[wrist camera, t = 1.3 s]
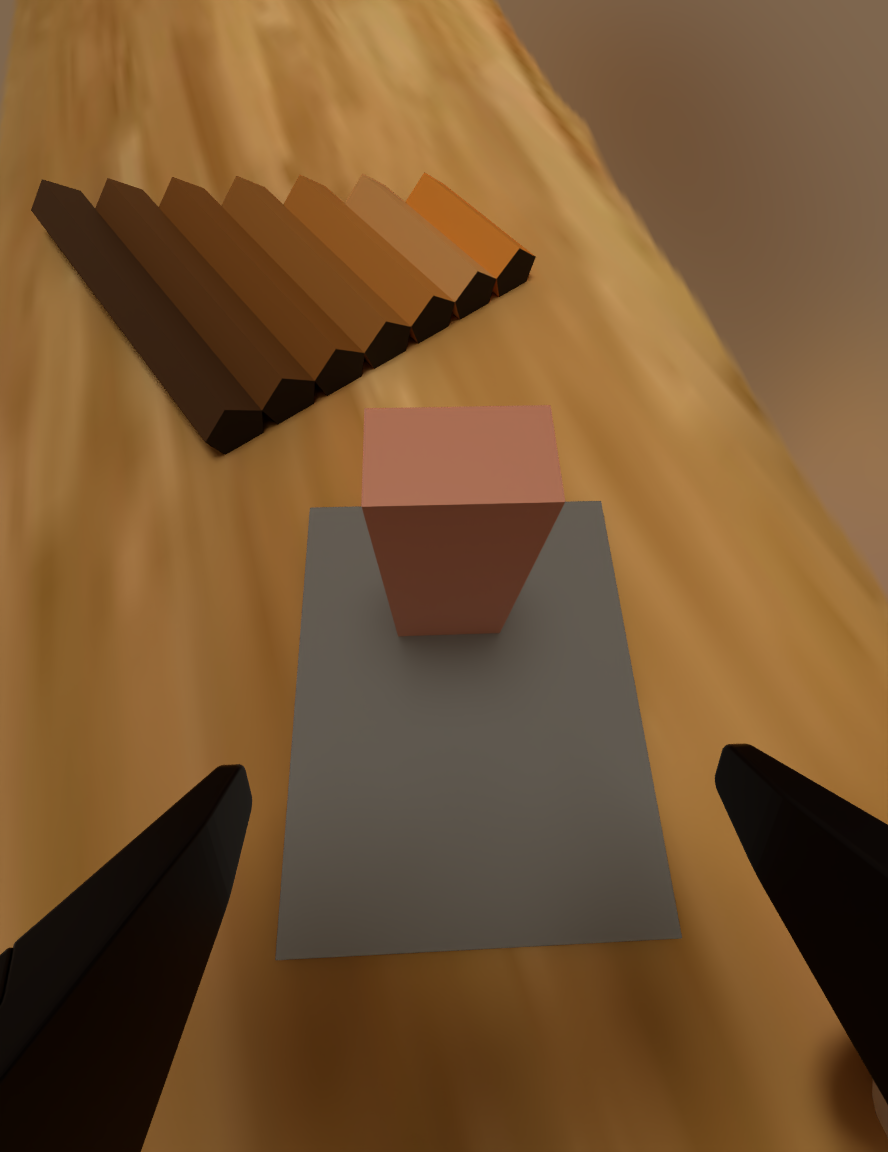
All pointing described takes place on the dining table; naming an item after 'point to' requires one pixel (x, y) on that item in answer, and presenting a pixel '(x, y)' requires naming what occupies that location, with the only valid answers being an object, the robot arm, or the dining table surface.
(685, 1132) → the dining table surface
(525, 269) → the pan flute
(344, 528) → the mat
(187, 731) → the dining table surface
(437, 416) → the tall box
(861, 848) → the robot arm
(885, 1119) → the donut
